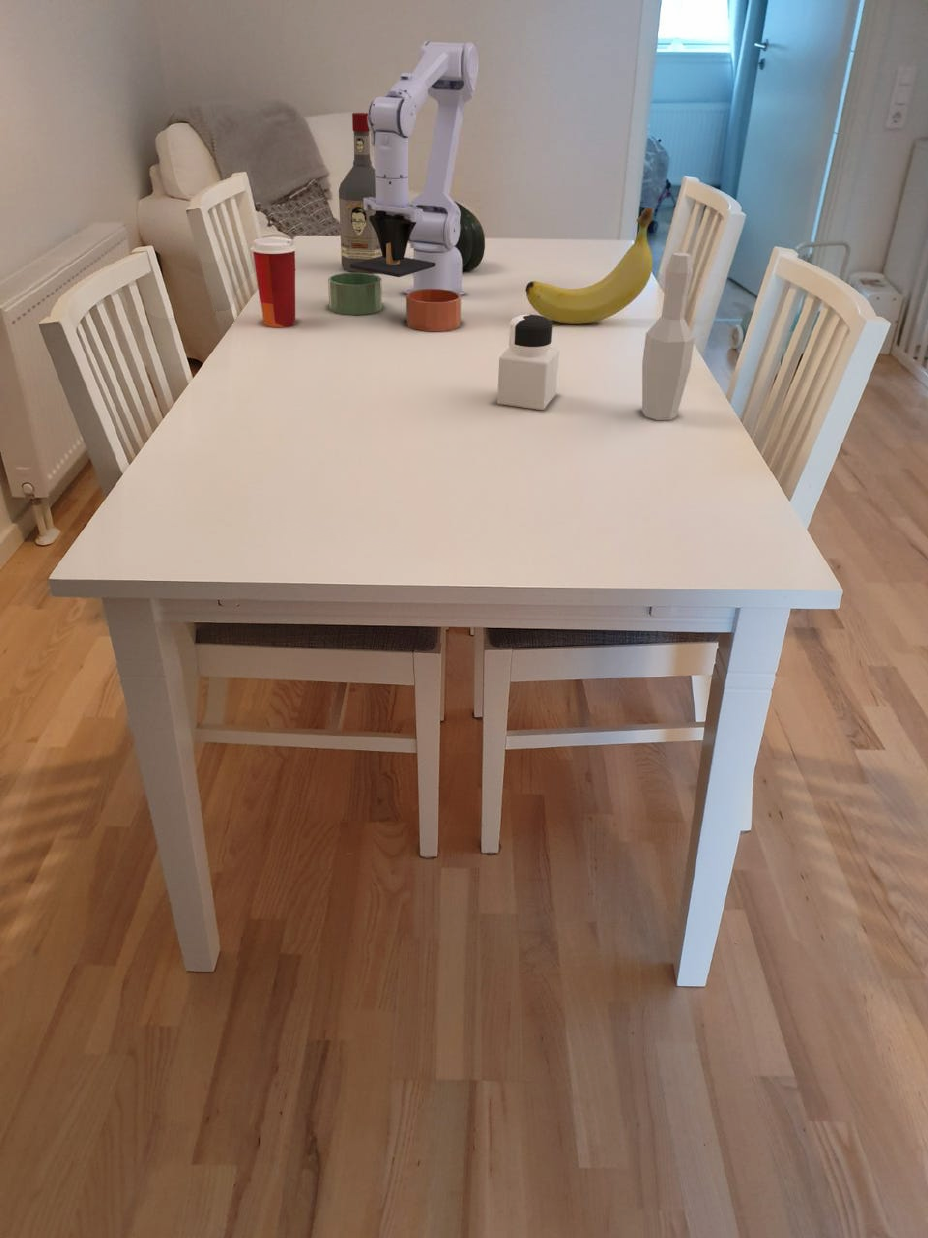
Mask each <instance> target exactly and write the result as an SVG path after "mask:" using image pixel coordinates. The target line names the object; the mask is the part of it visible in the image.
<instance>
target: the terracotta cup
mask: <svg viewBox="0 0 928 1238" xmlns="http://www.w3.org/2000/svg"><path fill="white" fill-rule="evenodd" d="M405 321H406V325H407V326H408V327H409V328H411V329H414V330H417V331H424V332H447V331H452V330H455V329H458V328H460V327H461V326H462V325H461V324H462V323H461V321H462V295H460V294H459V293H457V292H454V291H450V290H443V289H420V290H415V291H411V292H409V293H407V294H406V295H405Z"/></svg>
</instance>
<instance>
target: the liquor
mask: <svg viewBox="0 0 928 1238" xmlns="http://www.w3.org/2000/svg"><path fill="white" fill-rule="evenodd" d="M367 116H368V112H353V113H351V120H352V121H351V123H352V124H351V125H352V126H351V127H352V132H353V160H352V167H351V168H350V170H349V171H348V173H347V174H346V175H345V177H344V178H343V180H342V181H341V183H340V184H339V187H338V205H339V208H338V209H339V228H340V229H339V231H340V254H341V255H340V256H341V267H342V268H343V270H344V271H346V272H348V273H368V274H375V273H374V272H369V271H364V270H359V269H353V268H350V264H354V263H358V262H362V261H365V260H369V259H373V258H376V257H380V256H382V252H381V248H380V244H379V241H378V237H377V234H376V232H375V230H374V227H373V225H372V224H371V222H370V220H369V216H372V215H375V213H376V211H373V210H364V202H363V198H369V197H374V198H376V179H375V176H376V175H375V167H374V166H373V161H372V159H371V135H370V129H369V126H368V120H367Z"/></svg>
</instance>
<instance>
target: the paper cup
mask: <svg viewBox="0 0 928 1238" xmlns="http://www.w3.org/2000/svg"><path fill="white" fill-rule="evenodd" d="M251 245H252V246H251V247H250V248H249V249H250V250H251V252H253V259H254V267H255V273H256V281H257V289H258V295H259V302H260V309H261V315H262V322H263V324H264V325H265V326H267V327H271V328H287V327H291V326H293V325H295V324H296V252H295V251H297V246H296V245H295V243H294V240H293V239H292V238H289V237H282V236H265V237H260V238H256V239H254V240H253V242H252V243H251Z"/></svg>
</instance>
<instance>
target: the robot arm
mask: <svg viewBox="0 0 928 1238" xmlns="http://www.w3.org/2000/svg"><path fill="white" fill-rule="evenodd" d="M479 65H480V64H479V56H478V51H477V48H476V46H475V45H474V43H473V42H443V41H441V42H440V41H431V40H425V41H424V42H423V43H422V44H421V46H420V47H419V51H418V63H417V64H416V66H415V67H414V69H413V71H412V72H402V73H401V74H400V76H399V78H398V80H397V81H396V82H395V83H394V84H393V85H392V86H391V88H390V89H389V90H388V91H387V92H386V94H385V95H384V96H377V97H376V98H375V99H373V100H371V101H370V103H369V106H368V112H367V113H368V116H367V120H368V126H369V129H370V131H369V133H370V143H371V145H372V146H373V147H374V169H375V175H376V176H375V179H376V198H374V197H369V198H363V202H364V210H373V211H376V213H375V215H372V216H369V220H370V222H371V224H372V225H373V227H374V230H375V232H376V234H377V237H378V241H379V244H380V248H381V252H382V256H383V257H384V258H386V244H387V243H391V255H392V259H393V260H394V261H398V260H404V257H405V256H406V252H407V251H406V250H407V246H408V244H409V247H410V248H409V249H413V259H416V260H421V261H427V262H433V263H435V267H431V268H428V269H425V270H421V271H418V272H415V273H413V288H411V289H406V290H404V292H403V293H404V294H406V295H407V293H409V292H411V291H415V290H420V289H443V290H450V291H454V292H457V293H459V294H460V295H461V296H463V295H465V291H464V290H463V270H462V257H461V254H460V251H459V250H458V249H457V248H456V247H455V245H456V244H457V242H458V240H459V236H460V216H461V211H460V209H459V207H458V205H457V204H456V203H455V202H456V201H455V200H453V199H452V198H451V196H450V194H451V191H452V183H453V177H454V173H455V166H456V160H457V154H458V149H459V142H460V136H461V131H462V125H463V119H464V113H465V108H466V104H467V103H468V102H469V101H471V100H472V99H473V98H474V94H475V90H476V85H477V80H478V75H479V68H480V67H479ZM429 97H431V98H432V99H434V100H435V101H436V102H437V111H436V116H435V123H434V129H433V130H434V131H433V135H432V141H431V148H430V152H429V159H428V163H427V171H426V177H425V182H424V189H423V191H421V193H419V194H418V195H416V196H415V197H414V198H412V199H411V200H409V199H410V196H409V195H410V193H409V191H410V190H409V189H410V188H409V180H410V179H409V136H411V135H412V134H413V132H414V128H415V122H416V120H417V117H418V115H417V114H418V113H419V112H420V110H421V109H422V107H424V105H425V104H426V103H427V100H428V99H429ZM454 201H455V202H454Z"/></svg>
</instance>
